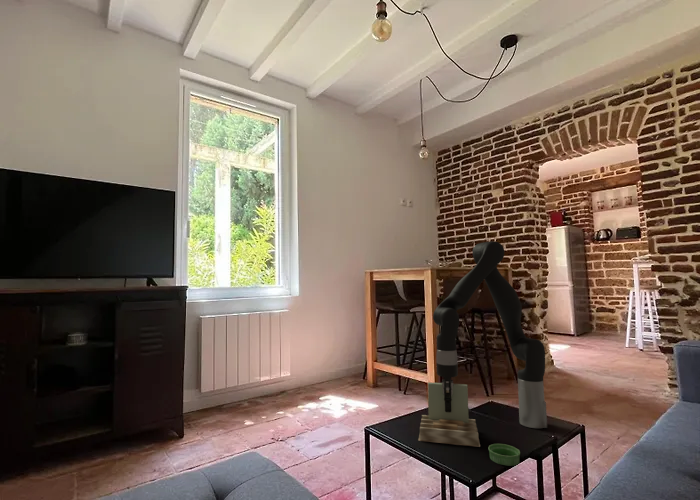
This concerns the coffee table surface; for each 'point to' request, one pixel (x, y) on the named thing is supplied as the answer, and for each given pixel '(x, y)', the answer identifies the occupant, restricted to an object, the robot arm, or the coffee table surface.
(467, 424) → the rack
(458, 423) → the offcut middle
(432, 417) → the sage board
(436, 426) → the offcut front
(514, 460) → the ramekin
